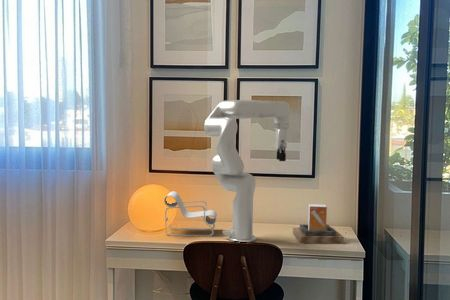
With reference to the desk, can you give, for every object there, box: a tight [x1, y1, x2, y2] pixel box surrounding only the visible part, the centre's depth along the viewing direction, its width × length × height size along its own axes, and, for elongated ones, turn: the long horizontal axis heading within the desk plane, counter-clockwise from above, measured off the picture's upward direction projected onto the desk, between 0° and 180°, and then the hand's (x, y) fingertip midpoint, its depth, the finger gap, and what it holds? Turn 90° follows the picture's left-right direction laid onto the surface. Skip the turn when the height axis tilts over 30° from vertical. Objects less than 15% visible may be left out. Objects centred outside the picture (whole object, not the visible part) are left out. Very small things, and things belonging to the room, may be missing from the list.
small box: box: [307, 203, 328, 231], centre depth 210 cm, size 8×6×13 cm
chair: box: [164, 190, 218, 237], centre depth 219 cm, size 13×25×20 cm, turn 89°
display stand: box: [292, 224, 345, 244], centre depth 211 cm, size 20×18×5 cm
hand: (281, 160), depth 225 cm, fingers open, 9 cm apart
